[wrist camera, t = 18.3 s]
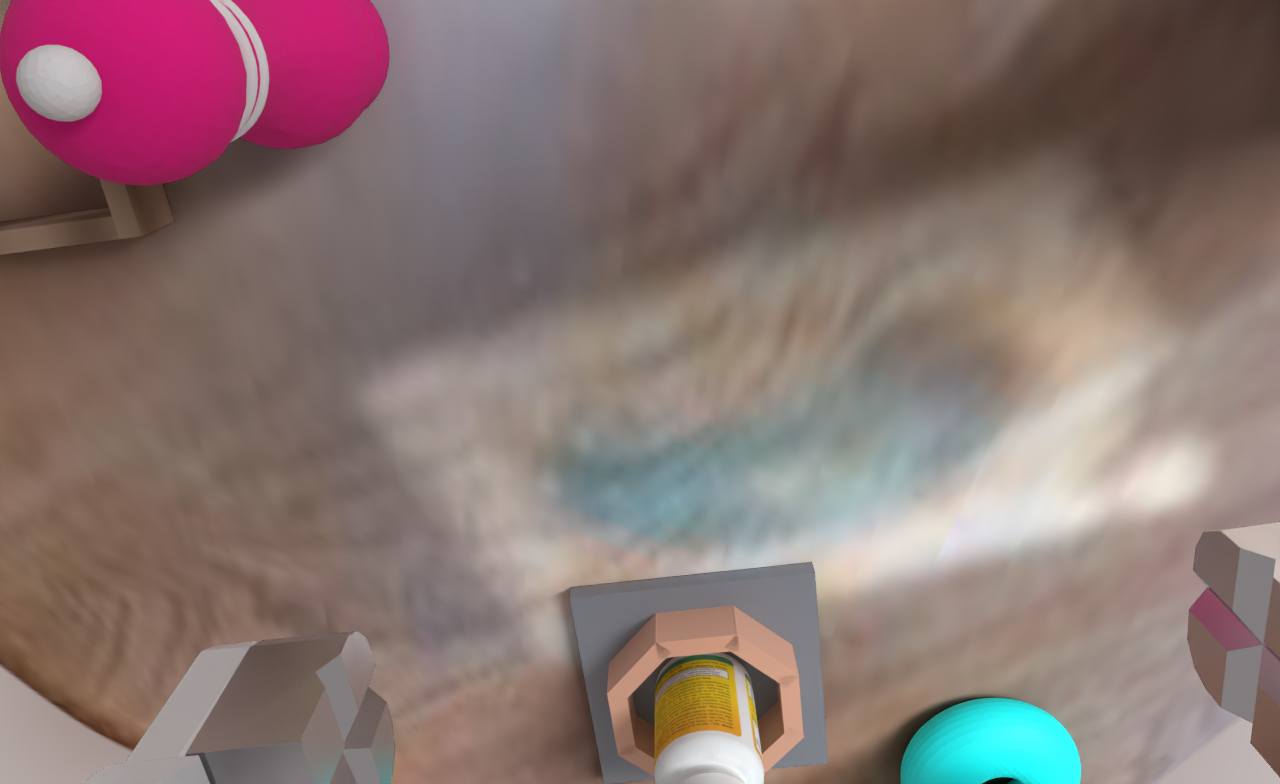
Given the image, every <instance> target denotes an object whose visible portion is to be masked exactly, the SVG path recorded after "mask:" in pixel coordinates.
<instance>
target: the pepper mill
mask: <svg viewBox="0 0 1280 784" xmlns="http://www.w3.org/2000/svg"><path fill="white" fill-rule="evenodd" d="M388 66H389V45H388V39H387V34H386V31H385V27H384V25H383V22H382V20H381V18H380V16H379V14H378V12H377V10H376V9H375V7H374V6H373V4H372V3H371V1H370V0H12V1H11V4H10V6H9V8H8V10H7V12H6V15H5V17H4V21H3V25H2V30H1V34H0V70H1V76H2V81H3V84H4V87H5V89H6V92H7V95H8V98H9V100H10V102H11V103H12V105H13V107H14V109H15V111H16V112H17V114H18V116H19V118H20V119H21V121H22V122H23V124H24V125H25V126H26V128H27V129H28V130H29V132H30V133H31V134H32V135H33V136H34V137H35V138H36V139H37V140H38V141H39V142H40V143H41V144H42V145H43V146H44V147H45V148H46V149H47V150H49V151H50V152H51V153H53V154H54V155H55V156H57V157H58V158H59V159H61V160H62V161H63V162H65V163H67V164H69V165H70V166H72V167H74V168H76V169H77V170H79V171H81V172H84V173H86V174H89V175H91V176H94V177H96V178H99V179H101V180H105V181H109V182H113V183H120V184H130V185H146V186H148V185H155V184H162V183H169V182H173V181H177V180H180V179H184V178H187V177H189V176H191V175H193V174H195V173H196V172H198V171H200V170H202V169H203V168H205V167H206V166H208V165H209V164H210V163H212V162H213V161H215V160H216V159H217V158H219V157H220V156H221V155H222V154H223V152H224V151H225V149H226V148H227V146H228V145H229V144H230V143H231V142H233V141H234V140H236V139H238V138H239V137H240V138H242V139H245V140H247V141H250V142H253V143H256V144H258V145H261V146H266V147H271V148H276V149H296V148H302V147H308V146H312V145H316V144H320V143H324V142H326V141H328V140H330V139H332V138H334V137H336V136H338V135H340V134H341V133H342V132H343V131H345V130H346V129H347V128H349V127H350V126H351V125H352V123H353V122H354V121H355V120H356V119H357V118H358V117H359V116H360V114H361V113H362V111H363V110H364V109H366V108H367V107H368V106H369V105H370V104H371V103H372V102H373V101H374V99H375V98H376V97H377V95H378V94H379V92H380V90H381V88H382V87H383V84H384V82H385V79H386V76H387V71H388Z"/></svg>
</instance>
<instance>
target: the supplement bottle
mask: <svg viewBox="0 0 1280 784" xmlns="http://www.w3.org/2000/svg"><path fill="white" fill-rule="evenodd" d="M654 776H655V784H763V783H764V768H763V759H762V752H761V745H760V738H759V731H758V723H757V716H756V708H755V701H754V695H753V689H752V683H751V680H750V677H749V674H748V673H747V671H746V669H745V668H744V667H743V666H742V664H741V663H739V662H738V661H737V660H736V659H735V658H733V657H731V656H729V655H728V654H725V653H722V652H720V653H710V654H700V655H690V656H680V657H674V658H673V659H671V660H670V661H669V662H668V663H667V664H666V665H665V666H664V667H663V668H662V669H661V671H660V673H659V675H658V678H657V681H656V686H655V756H654Z"/></svg>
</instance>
